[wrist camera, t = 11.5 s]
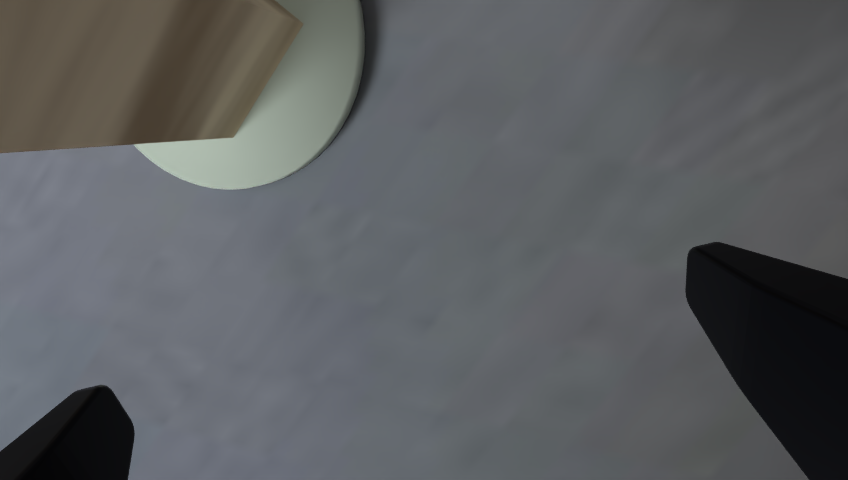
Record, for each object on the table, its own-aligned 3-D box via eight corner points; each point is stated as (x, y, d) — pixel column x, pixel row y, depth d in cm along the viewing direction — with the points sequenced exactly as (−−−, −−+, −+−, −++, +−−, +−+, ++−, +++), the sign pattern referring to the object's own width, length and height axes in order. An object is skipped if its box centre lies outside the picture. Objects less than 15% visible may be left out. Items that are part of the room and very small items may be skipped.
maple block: (303, 23, 20) (-126, -136, 7) (233, 137, 21) (-222, 168, 9) (195, -64, 20) (-404, -366, 7) (133, 55, 21) (-451, -31, 9)
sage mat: (427, 28, 19) (421, 25, 19) (247, 242, 23) (236, 247, 22) (203, -191, 20) (189, -204, 19) (57, 54, 23) (40, 51, 22)
